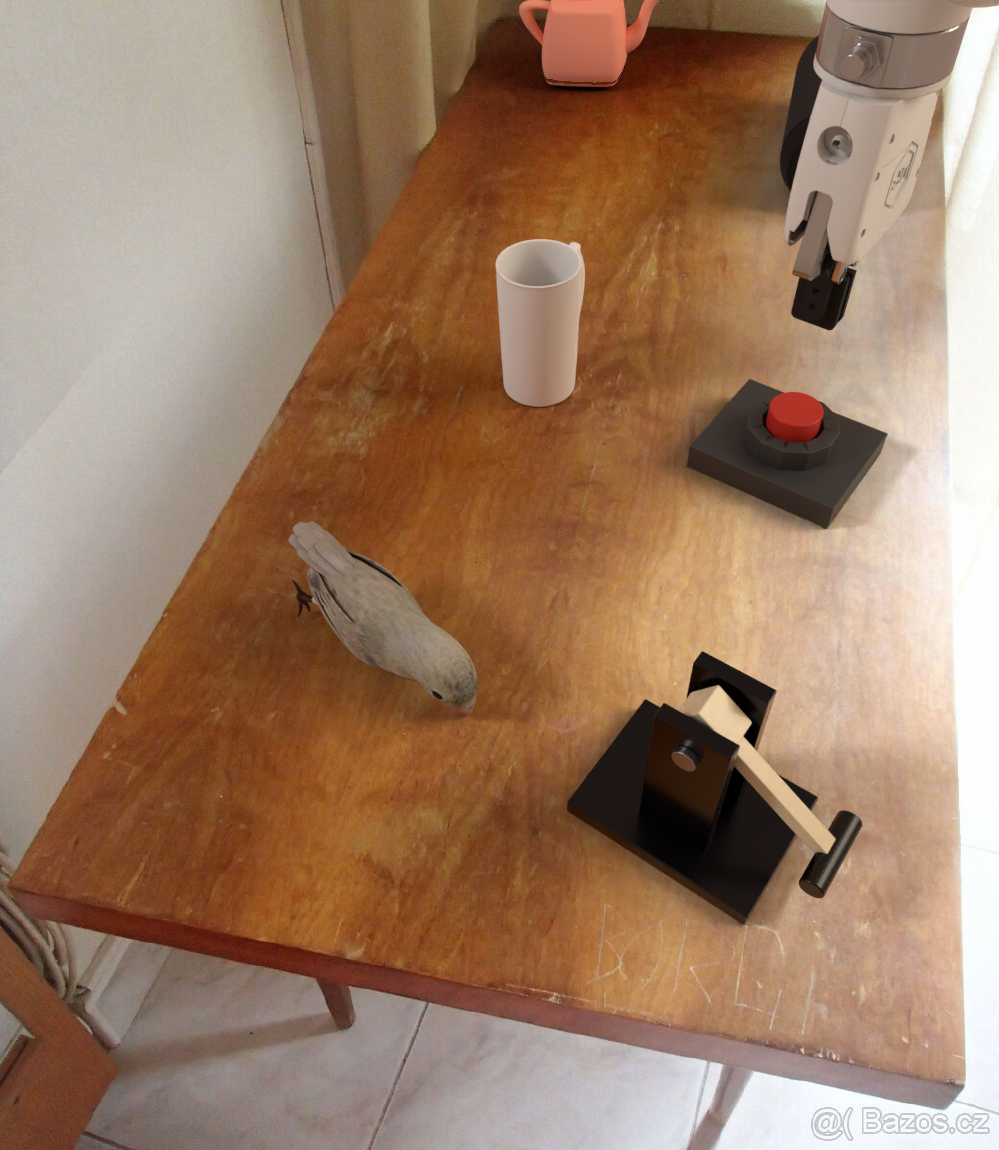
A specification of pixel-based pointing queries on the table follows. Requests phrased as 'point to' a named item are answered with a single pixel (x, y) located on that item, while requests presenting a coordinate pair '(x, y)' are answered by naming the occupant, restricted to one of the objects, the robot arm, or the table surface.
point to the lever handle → (778, 791)
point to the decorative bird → (382, 619)
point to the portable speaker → (799, 112)
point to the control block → (786, 456)
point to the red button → (794, 417)
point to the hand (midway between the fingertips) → (816, 317)
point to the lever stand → (692, 796)
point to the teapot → (585, 38)
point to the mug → (539, 319)
